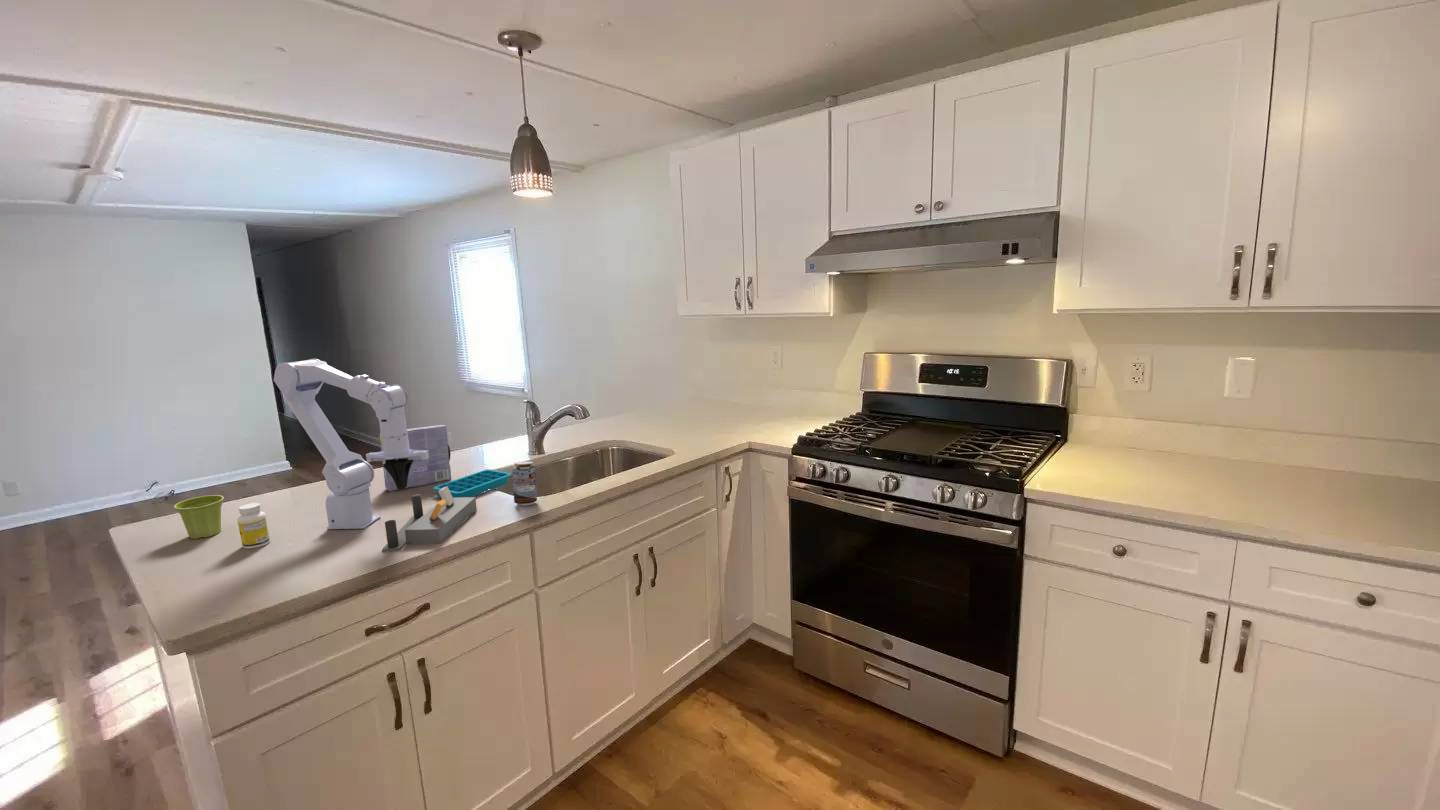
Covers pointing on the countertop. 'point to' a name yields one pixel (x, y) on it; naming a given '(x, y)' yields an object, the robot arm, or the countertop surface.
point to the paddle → (446, 496)
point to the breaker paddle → (437, 510)
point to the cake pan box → (430, 468)
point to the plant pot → (201, 515)
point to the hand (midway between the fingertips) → (402, 487)
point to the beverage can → (524, 483)
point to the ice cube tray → (475, 483)
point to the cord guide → (398, 538)
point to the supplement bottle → (253, 526)
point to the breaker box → (440, 522)
